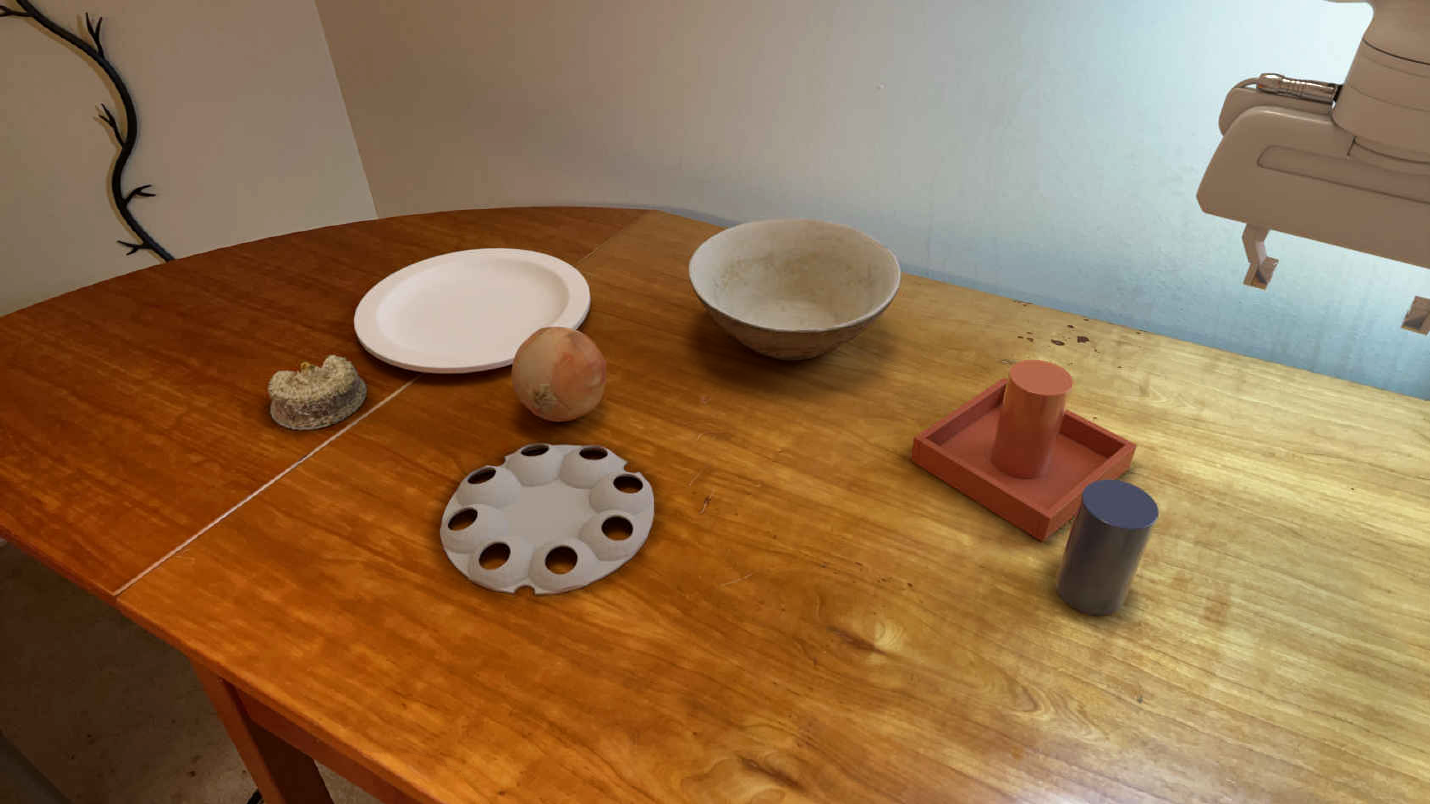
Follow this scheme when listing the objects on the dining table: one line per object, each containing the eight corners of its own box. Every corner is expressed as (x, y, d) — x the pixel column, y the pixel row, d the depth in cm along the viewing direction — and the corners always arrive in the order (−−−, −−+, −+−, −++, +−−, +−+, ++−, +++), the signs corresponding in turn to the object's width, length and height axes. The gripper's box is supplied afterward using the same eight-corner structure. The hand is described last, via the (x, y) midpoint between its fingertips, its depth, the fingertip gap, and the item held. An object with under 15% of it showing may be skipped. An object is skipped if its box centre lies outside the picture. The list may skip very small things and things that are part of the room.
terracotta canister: (1061, 472, 88) (1086, 388, 82) (1010, 484, 86) (1031, 400, 80) (1028, 436, 92) (1049, 355, 86) (979, 447, 91) (997, 365, 84)
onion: (510, 441, 93) (494, 361, 87) (527, 384, 101) (514, 306, 95) (604, 441, 93) (596, 360, 87) (614, 384, 100) (607, 306, 94)
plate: (319, 315, 113) (314, 298, 111) (513, 243, 127) (511, 228, 126) (429, 417, 96) (424, 399, 95) (637, 321, 111) (636, 304, 109)
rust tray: (1129, 468, 89) (1137, 444, 87) (1042, 542, 81) (1050, 518, 79) (999, 399, 98) (1004, 376, 96) (910, 460, 90) (913, 437, 88)
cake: (383, 408, 98) (373, 369, 95) (291, 447, 93) (276, 408, 90) (346, 362, 104) (334, 324, 100) (257, 397, 99) (241, 358, 95)
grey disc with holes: (692, 483, 87) (692, 468, 86) (574, 628, 74) (572, 612, 72) (529, 425, 95) (526, 410, 94) (394, 546, 81) (389, 530, 80)
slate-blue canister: (1139, 606, 75) (1175, 519, 69) (1080, 622, 74) (1112, 535, 68) (1097, 558, 79) (1127, 472, 73) (1041, 573, 78) (1067, 487, 72)
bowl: (838, 422, 95) (845, 342, 89) (651, 356, 105) (646, 280, 99) (921, 320, 111) (932, 246, 105) (752, 271, 121) (753, 201, 115)
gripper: (1223, 79, 56) (1158, 277, 64) (1656, 157, 46) (1512, 380, 54) (1247, 54, 60) (1183, 244, 68) (1651, 121, 50) (1518, 334, 58)
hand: (1331, 305), depth 61 cm, fingers open, 8 cm apart
